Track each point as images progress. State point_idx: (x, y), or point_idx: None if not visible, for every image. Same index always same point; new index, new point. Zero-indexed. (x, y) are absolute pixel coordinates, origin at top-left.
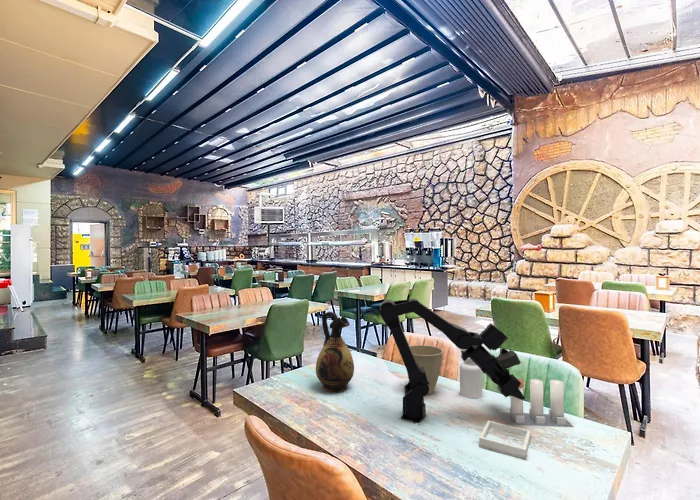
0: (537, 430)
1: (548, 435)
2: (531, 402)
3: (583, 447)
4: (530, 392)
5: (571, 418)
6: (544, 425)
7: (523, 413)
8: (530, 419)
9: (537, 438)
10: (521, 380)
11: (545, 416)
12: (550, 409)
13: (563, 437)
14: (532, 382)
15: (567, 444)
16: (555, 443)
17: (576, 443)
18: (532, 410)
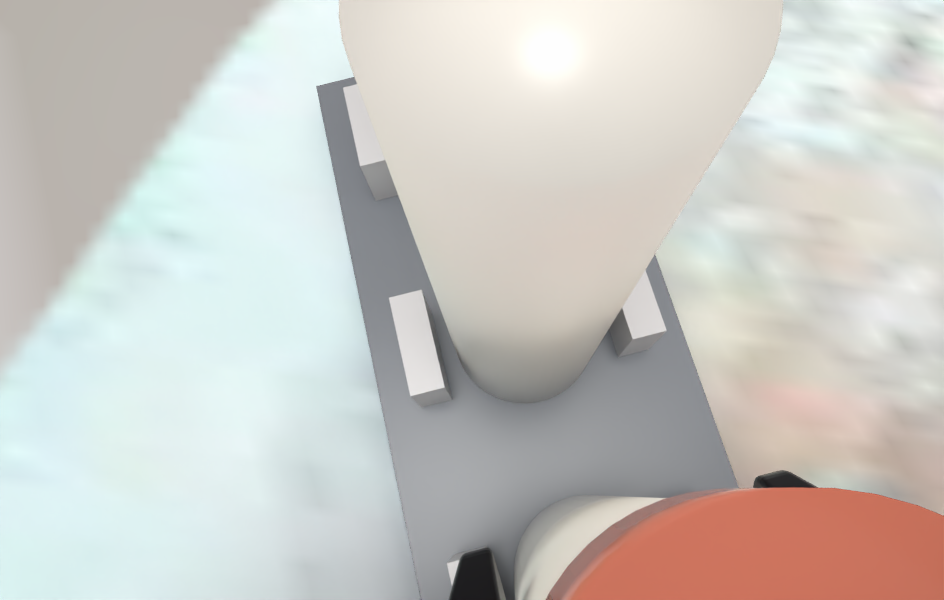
0: (716, 360)
1: (782, 269)
2: (584, 348)
3: (873, 30)
4: (566, 314)
5: (311, 30)
6: (654, 275)
7: (405, 474)
8: (551, 407)
9: (911, 382)
10: (725, 556)
11: (411, 237)
12: (357, 150)
13: (758, 148)
14: (718, 130)
15: (887, 136)
16: (927, 230)
17: (825, 67)
18: (581, 362)
